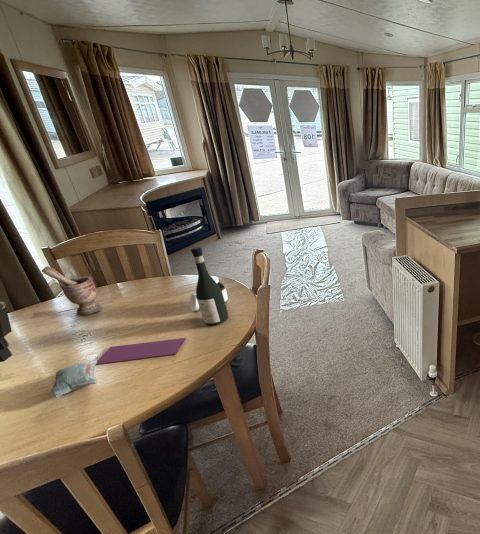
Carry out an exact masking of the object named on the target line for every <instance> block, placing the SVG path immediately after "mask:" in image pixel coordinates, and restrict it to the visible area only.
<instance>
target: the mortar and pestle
mask: <svg viewBox="0 0 480 534" xmlns="http://www.w3.org/2000/svg"><path fill="white" fill-rule="evenodd" d="M41 272H42V273H43V274H44V275H46V276H48V277H50V278H52V279H55V280H57V281H59V282H60V285H59V287H60V289H61V290H62V292H63V294H64V296H65V297H66V298H67V299H68V300H69V301H70V303H72V304H74V305H78V307H77V309H76V314H77V315H78V316H87V315H91V314H94V313H98V312H101V311H102V309H103V305H102V304H101V303H99V302H96V301H95V300H96V298H97V296H98V293H97V288H96V285H95V283H94V280H93V278H92V277H90V276H79V277H74V278H71V279H69V278H67V277H66V276H65V275H63V274H61V273H60V272H59V271H57V270H56V269H55V268H54V267H51V266H46V267H44V268H43V269H41Z"/></svg>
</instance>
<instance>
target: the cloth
mask: <svg viewBox="0 0 480 534" xmlns="http://www.w3.org/2000/svg"><path fill="white" fill-rule="evenodd" d="M186 339H187V337H181V338H180V337H179V338H172V339H164V340H163V339H162V340H156V341H148V342H139V343H130V344H121V345H115V346H114V345H113V346H110V347H109V348H107V350H106V351H105V352H104V353H103V354H102V355H101V356H100V357H99V358H98V359H97V363H96V365H95V366H99V365H100V364H101V365H107V364H114V363H122V362H123V363H124V362H129V361H130V362H131V361H137V360H146V359H153V358H161V357H169V356H176V355H177V353H178V352H179V350H180V349H181V347H182V346H183V344H184V343H185V341H186ZM101 365H100V366H101Z"/></svg>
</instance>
